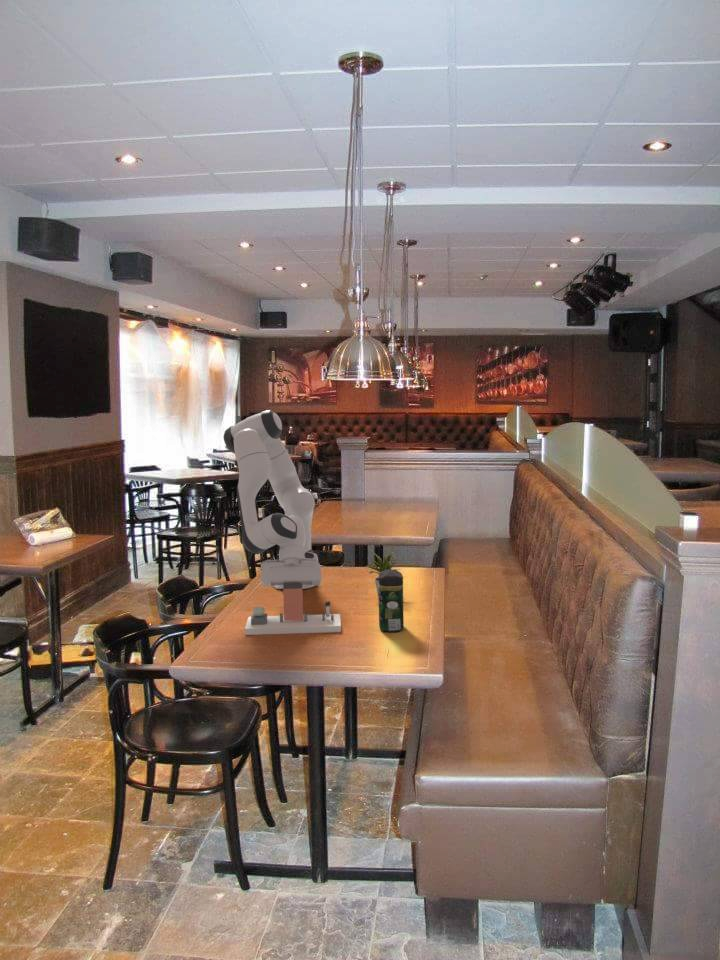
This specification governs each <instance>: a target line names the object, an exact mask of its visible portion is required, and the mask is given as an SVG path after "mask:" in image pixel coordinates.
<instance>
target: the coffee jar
mask: <svg viewBox="0 0 720 960" xmlns="http://www.w3.org/2000/svg"><path fill="white" fill-rule="evenodd" d="M378 577H379V578H378V579H379V580H378V594H377V597H378V599H377V601H378V627H379V629H380V630H381V631H382V632H387V633H396V632H401V631H403V629H404V625H405V624H404V620H405V619H404V617H405V616H404V576H403V574H402V572H401V571H399V570H396V569H393V568H391V570H384V571H382V572H381V573H380V574H378Z"/></svg>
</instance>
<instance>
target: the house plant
mask: <svg viewBox="0 0 720 960" xmlns="http://www.w3.org/2000/svg"><path fill="white" fill-rule="evenodd" d="M393 554H394V551H392V552H391V553H390V554H388V553H387V552H386V553H385V556H384V558H383V559H382V558H381V557H380V556H379V555H378V554H376V553H374V552H373V555H374V556H376V558H377V561H375V560H374V559H372V558H369V557H368V560H370V561H372V562H374V563H373V565H374V566H371V565H364V567H366V568H369V570H371V571H368V572H367V574H368V575H371V574H374V573H375V574H376V575H377V574H378V575H379V574H380V573H381V572H382V571H384V570H391V569H393V566H394V565H395V564H396V563H397V562H398V560H397V557H395V555H393ZM396 570H397V571H399V570H400V571H402V570H401V568H398V569H396ZM378 578H379V576H377V577H375V578H374V582H375V588H376V593H377V595H378V580H379V579H378Z"/></svg>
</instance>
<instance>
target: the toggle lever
mask: <svg viewBox="0 0 720 960" xmlns="http://www.w3.org/2000/svg"><path fill="white" fill-rule="evenodd" d="M324 605H325V614H326V617H330V614H331V611H330V606H331V601H329V600H326V601H325V603H324Z"/></svg>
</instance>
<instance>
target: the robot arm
mask: <svg viewBox="0 0 720 960" xmlns="http://www.w3.org/2000/svg"><path fill="white" fill-rule="evenodd" d="M282 424H283V423H282V420H281V418H280V417H279V415H278V414H277V413H276V412H275V411H274V410H271V409H267V410H264V411H261V412H259V413H255V414H253V415H250V416H248V417H246V418H245V419H243V420H241V421H239V422H237V423H236V424H234V425H230V426H229V427H228V428H226V429H225V430H224V432H223V441H224V444H225V446H226V448H227V450H228V451H229V452H230V453H232V454H234V455H235V458H236V459H235V460H236V463H237V465H238V467H237V468H238V483H237V485H236V496H237V503H238V511H239V516H240V517H239V518H240V523H241V542H242V545H243V547H244V548H245V549H246V550H247V551H248V552H250V553H252V554H256V555H260V554H262V553H264V552H266V551H267V550H268V549H269V548H272V547H274V546H276V545H277V546H279V552H278V559H265V560H264V561H262V562H261V564H260V570H261V574H260V583H261V585H262V586H263V587H273V588H275V589H276V590H281V589H282V590H283V583H284V582H302V590H305V589H310V588H313V587H315V586H320V585H321V584H322V582H323V580H322V579H323V578H322V577H323V576H322V568H321V564H320V562H319V557H318V554H316V553H314V552H313V548H312V522H313V516H314V510H315V505H316V502H315V498H314V496H313V493H312V492H311V491H310V490H308V489H307V488H305V487H304V486H303V485H302V482H301V480H300V479H299V475H298V473H297V469H296V466H295V464H294V462H293V459H292V458H291V456H290V454H289V452H288V450H287V448H286V445H285V444H284V442H283V441H282V440H281V438H280V436H281V435H282V433H283V430H284V429H283V425H282ZM267 481H269V483H270V485H271V488H272V490H273V494H274V495H275V498H276V499H277V502H278V504H279V506H280V507H281V508H282V509H283V510H284V514H283V513H282V512H274V513H272V514H270V515H268V516H266V517H264V518H263V519H260V521H259V520H258V513H257V508H256V497H257V495H258V493H259V492H260V490H261V488H262V487H263V486H264V485H265V484H266V483H267Z"/></svg>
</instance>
